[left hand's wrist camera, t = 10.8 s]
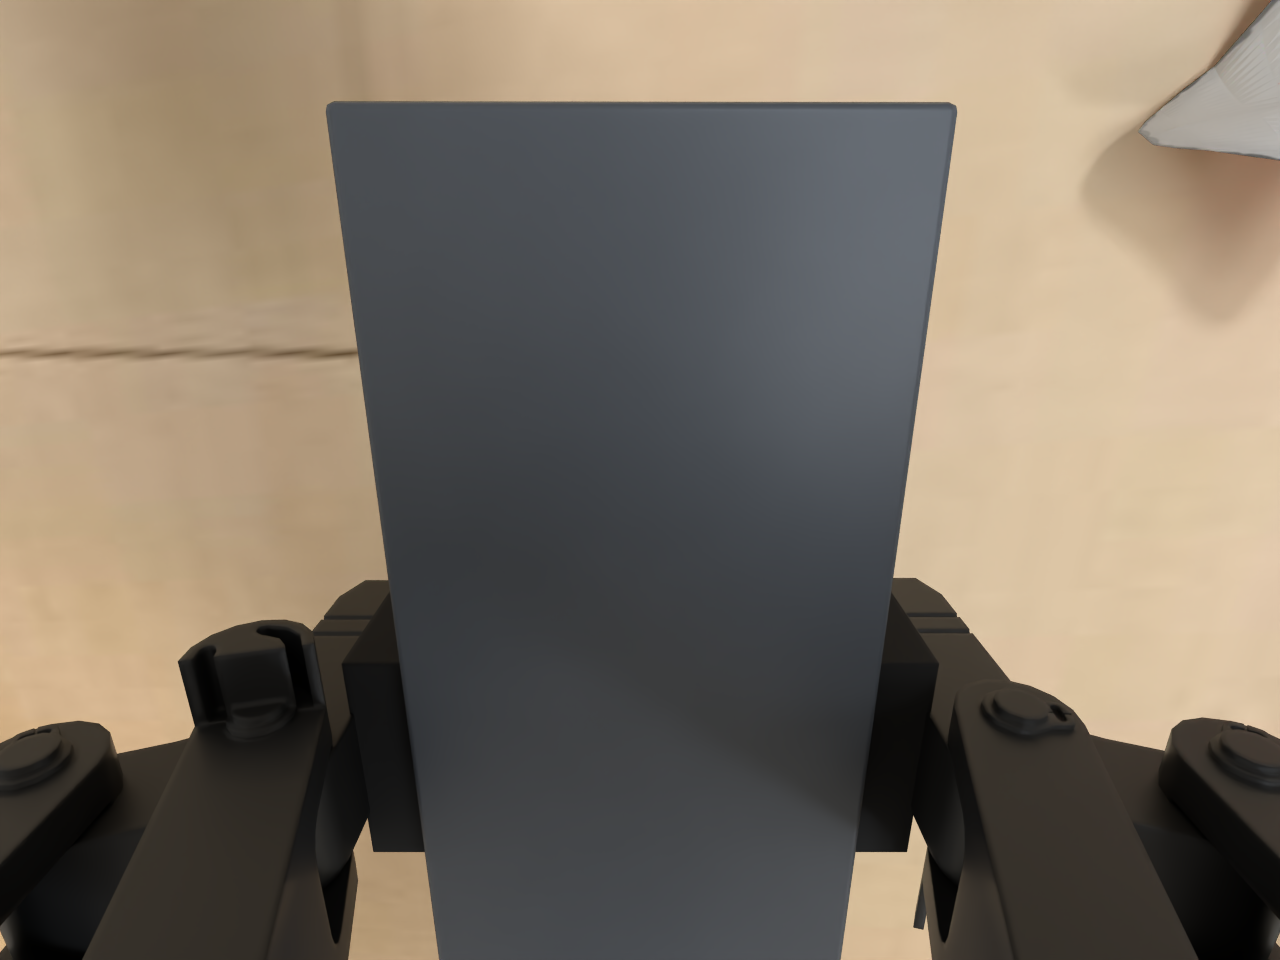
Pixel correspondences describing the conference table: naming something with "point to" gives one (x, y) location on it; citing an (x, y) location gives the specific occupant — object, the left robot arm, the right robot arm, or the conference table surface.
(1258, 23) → the fish
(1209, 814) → the left robot arm
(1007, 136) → the conference table surface
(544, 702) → the beam
